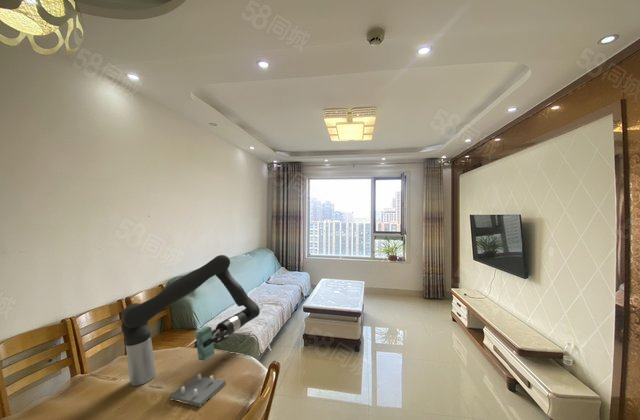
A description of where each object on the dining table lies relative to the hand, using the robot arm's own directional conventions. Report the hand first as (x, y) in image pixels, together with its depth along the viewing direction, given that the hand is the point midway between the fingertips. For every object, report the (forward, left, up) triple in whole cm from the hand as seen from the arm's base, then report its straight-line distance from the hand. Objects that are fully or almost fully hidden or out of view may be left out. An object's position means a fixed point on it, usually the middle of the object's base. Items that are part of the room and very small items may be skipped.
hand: (199, 345), depth 108 cm
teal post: (0, +3, -7) cm, 7 cm away
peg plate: (+6, -8, -14) cm, 17 cm away
